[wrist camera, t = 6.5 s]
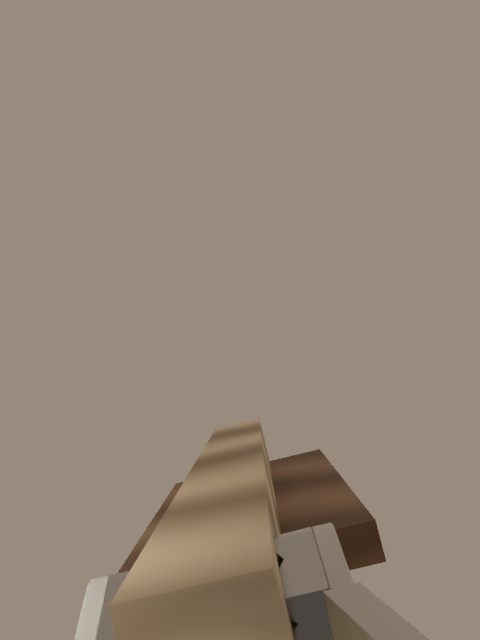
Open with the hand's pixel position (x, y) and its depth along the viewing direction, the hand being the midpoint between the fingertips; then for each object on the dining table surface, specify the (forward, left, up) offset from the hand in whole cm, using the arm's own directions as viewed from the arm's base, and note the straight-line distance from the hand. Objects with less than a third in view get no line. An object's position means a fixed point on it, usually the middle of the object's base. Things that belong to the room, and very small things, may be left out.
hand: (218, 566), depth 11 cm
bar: (-6, +5, -2) cm, 8 cm away
